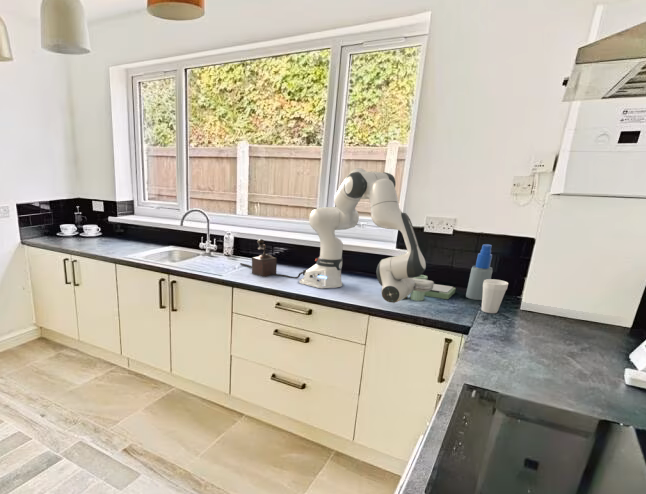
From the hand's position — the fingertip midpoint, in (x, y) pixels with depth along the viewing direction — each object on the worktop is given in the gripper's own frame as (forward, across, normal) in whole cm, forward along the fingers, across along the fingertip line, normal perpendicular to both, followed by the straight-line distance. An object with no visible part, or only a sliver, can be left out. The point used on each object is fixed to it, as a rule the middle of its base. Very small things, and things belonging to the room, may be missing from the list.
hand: (413, 279), depth 202 cm
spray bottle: (+32, -22, +12) cm, 41 cm away
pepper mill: (+10, +87, +12) cm, 89 cm away
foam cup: (+13, -31, +12) cm, 36 cm away
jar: (+12, 0, +12) cm, 17 cm away
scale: (+27, -5, +12) cm, 30 cm away
